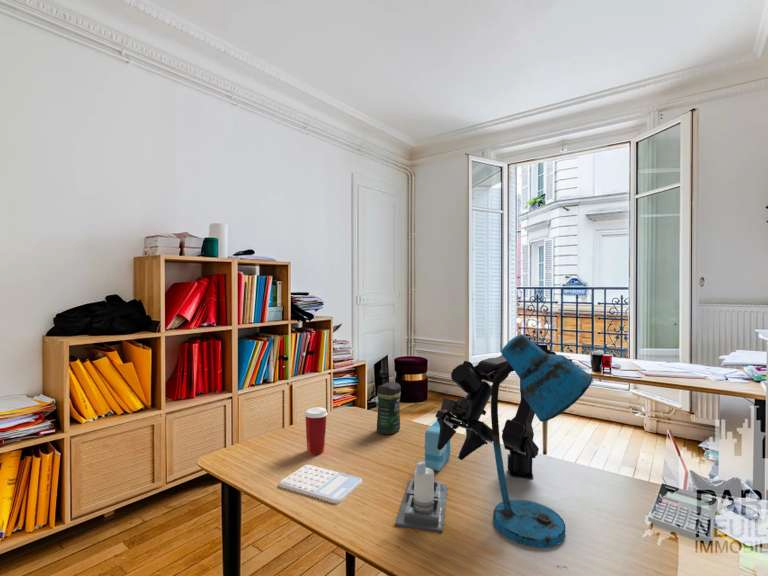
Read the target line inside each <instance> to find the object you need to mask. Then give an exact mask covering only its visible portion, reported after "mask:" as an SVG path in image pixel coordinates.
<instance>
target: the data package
mask: <svg viewBox="0 0 768 576" xmlns="http://www.w3.org/2000/svg"><path fill="white" fill-rule="evenodd" d="M439 433H440V425H439V422H438V421H437V420H436V421H434V423H432V424H431V425H430V426H429V427H428V428H427V429H426V430H425V433H424V462H425V463H426V467H427V468H430V469H432V470H433V471H435V472H440V471H441V470H442V469H443V468H444V466H445V465H446V464H447V462H448V461H450V458H451V439H450V440H449V441H448V442H447V444H446V445H445V446H444V447H443V448H442V449H441V450H439V449H437V445H438V439H439Z"/></svg>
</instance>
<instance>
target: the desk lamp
mask: <svg viewBox="0 0 768 576" xmlns="http://www.w3.org/2000/svg"><path fill="white" fill-rule="evenodd" d="M500 352H501V355H503V356H504V358H505V359H506V360H507V362H508V363H509V364H508V366H507V367H505V368H504V369H502V370H501V371H500V372H499V373H498V374H497V375H496V377H495V378H494V381H493V383H491V386H492V392H491V396H490V417H491V418H490V419H491V421H490V422H491V429H492V435H493V442H492V445H493V450H494V451H493V452H494V459H495V465H496V472H497V478H498V482H499V483H498V484H499V489H500V494H501V499H502V502H500V503H498V504H496V505H495V507H494V509H493V517H492V518H493V519H492V521H493V524H494V526H495V528H496V529H497V530H498V531H499V532H500V533H501V534H502V535H503V536H505V537H506V538H507V539H509V540H510V541H513V542H515V543H518V544H520V545H523V546H528V547H532V546H533V548H539V547H541V548H551V547H550V546H552V547H554V546H553V545H556V544H558V543H560V542H562V541H564V540H565V539H566V534H565V532H566V523H565V521H564V519H563V518H562V517H561V515H560V514H559V513H557V512H556V511H554V510H553V509H551V508H550V507H548V506H546V505H544V504H541V503H538V502H534V501H530V500H526V499H524V500H523V499H510V497H509V491H508V485H507V480H506V475H505V474H506V473H505V469H504V468H505V467H504V462H503V455H502V448H501V440H500V425H499V413H498V412H499V411H498V409H499V388H500V385H501V383H500V382H501V380H502V379H503V378H504V377H505V376H506V375H508V374H509V375H510V374H511V373H512V372H515V374H516V375H517V376H518V378H519V392H520V394H521V395H523V397H524V398H525V400H526V401H527V403H528V404H529V406H530V407H531V408H532V410H533V411H534V413H535V416H536V417H537V419H538V420H539V421H540V422H548V421H550V420H552V419H554V418H556V417H558V416H559V415H561V414H562V413H564V412H565V411H567V410H568V409H570V407H572V406H573V405H574V404H575V403H576V402H577V401H578V400H580V398H582V396H584V394H585V393H586V392H587V390H588V389H589V388H590V386H591V385H592V383H593V380H594V378H593V376H592V375H591V374H590V373H588V372H587V371H585V370H584V369H582V367H580V366H578V365H577V364H575V363H574V362H572V361H571V360H570V359H569V358H567V357H566V356H565V355H562V354H556V355H552V354H547V353H545V352H544V351H543V350H542V349H540V348H539V347H538V346H537V345H535V344H534V343H533V341H532V340H531V339H529V338H528V337H527V336H526V335H524V334H522V333H521V334H518V335H516V336H514V337H513V338H512V339H510V340H509V341H508V342H507V343H506V344H505V346H503V347H502V349H501V351H500ZM509 375H508V376H509ZM564 538H565V539H564ZM563 539H564V540H563ZM562 543H563V542H562ZM560 544H561V543H560ZM558 545H559V544H558ZM556 546H557V545H556Z"/></svg>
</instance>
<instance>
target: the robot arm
mask: <svg viewBox="0 0 768 576" xmlns="http://www.w3.org/2000/svg"><path fill="white" fill-rule="evenodd" d="M532 342H533V341H532ZM533 343H534V344H535V345H537V346H538V347H539V348H540V349H542V350H543V351H544V352H545V353H547V354H552V355H557V353H556V352H555V351H552V350H550V349H547V348H545V347H543V346H541V345H540V344H539V343H537V342H533ZM508 364H509V363H508V362H507V360H506V359H505V358H504V356H503V355H502V354H501V355H500V356H497V357H488V358H485V359H482V360H480V361H479V362H478V364H476V365H473V363H472V361H468V360H463V363H461V364H458V365H457V366H455V368H453V369H452V371H451V375H450V378H451V381H453V383H455V384H456V385H457V386H458V387H459V388H460V389H461V390H462V391H463V392H464V393H466V396H465V397H461V398H460V397H458V398H457V400H453V399H449V398H445V397H443V398H442V400H441V401H442V402H441V406H440V409H439V410H438V411H437V412H436V414H435V418H436V421H438V422H439V425H440V433H439V439H438V445H437V449H439V450H441V449H442V448H443V447H444V446H445V445H446V444H447V442H448V441H449V440H450V441H451V439H452V438H453V436H454V435H455V434H456V433H457V429H459V427H460V428H462V429H465V436H466V437H465V439H464V442H463V444H462V447H461V448H460V451H459V455H458V457H457V458H458V459H459V460H460V461H462V460H464V459H465V458H466V457H469V455H471V454H472V453H473V452H475V451H476V450H479V448H481V447H482V446H484V445H488V444H489V443H491V444H493V435H492V427H490V426H489V425H487V424H486V422H484V421H481V420H480V419H481V416H482V415H483V416H486V415H487V411H486V410H485V408H486V406H487V404H488V402H489V400H490V399H491V392H492V384H493V381H494V378H495V377H496V375H497V374H498V373H499V372H500V371H501V370H502V369H504V368H505V367H507V366H508ZM509 375H510V373H509V374H508V375H506V376H505V377H504V378H503V379H502V380H501V382H500V384H502V383H503V382H504V381H505V380H506V379H507V378H508V377H509ZM488 382H489V383H491V384H489V383H488ZM521 395H522V394H521ZM535 416H536V414H535V413H534V411H533V410H532V408H531V407H530V406H529V404H528V403H527V401H526V400H525V398H524V397H523V395H522V396H521V399H520V402H519V404H518V407H517V411H516V414H515V416H514V417H513V418H511V419H506V421H505V424H504V427H503V428H502V431H501V432H502V434H501V439H502V444H503V446H504V447H503V448H504V450H507V451H509V453H508V454H507V466H506V467H507V470H508V471H509V475H510V476H511V477H517V478H518V477H519V478H527V479H534V474H533V459H536V458H537V456H538V454H539V449H540V448H539V447H538V445H537V444H536V443H535V442H534V436H535V432H534V429H533V425H532V423H533V420H534V417H535Z"/></svg>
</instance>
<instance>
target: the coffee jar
mask: <svg viewBox="0 0 768 576" xmlns="http://www.w3.org/2000/svg"><path fill="white" fill-rule="evenodd" d="M401 389H402V388H401V385H400V383H399V382H394V381H388V382H386V383H382V385H378V387H377V417H376V418H377V419H376V432H378V433H380V434H382V435H393V434H395V433H397V432H399V431H400V429H401V407H400V403H401V402H400V401H401V394H402V392H401V391H402V390H401Z"/></svg>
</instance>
